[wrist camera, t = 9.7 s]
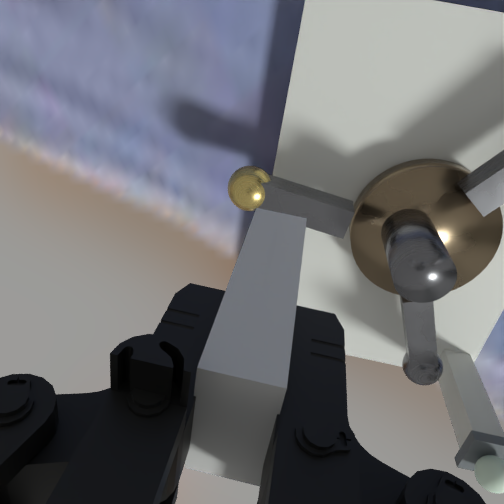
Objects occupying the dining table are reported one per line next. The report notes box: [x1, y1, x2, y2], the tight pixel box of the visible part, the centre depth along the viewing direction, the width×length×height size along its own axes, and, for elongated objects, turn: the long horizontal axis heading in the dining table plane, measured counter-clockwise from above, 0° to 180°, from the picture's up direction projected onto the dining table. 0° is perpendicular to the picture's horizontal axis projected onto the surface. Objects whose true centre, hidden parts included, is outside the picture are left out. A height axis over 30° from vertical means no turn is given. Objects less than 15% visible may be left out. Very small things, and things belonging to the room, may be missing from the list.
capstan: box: [228, 150, 504, 385], centre depth 23 cm, size 16×18×6 cm
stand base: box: [273, 0, 504, 493], centre depth 22 cm, size 22×16×11 cm
